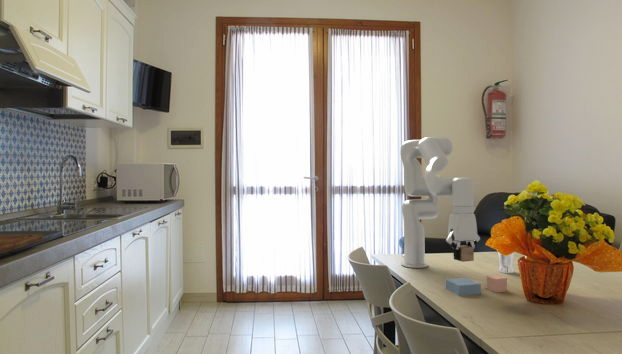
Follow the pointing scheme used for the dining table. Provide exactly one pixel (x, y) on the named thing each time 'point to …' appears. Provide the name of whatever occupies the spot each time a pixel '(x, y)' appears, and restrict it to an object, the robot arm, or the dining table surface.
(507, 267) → the beer glass
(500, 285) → the pink cube
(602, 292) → the dining table surface
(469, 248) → the walnut cube
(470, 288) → the base block
